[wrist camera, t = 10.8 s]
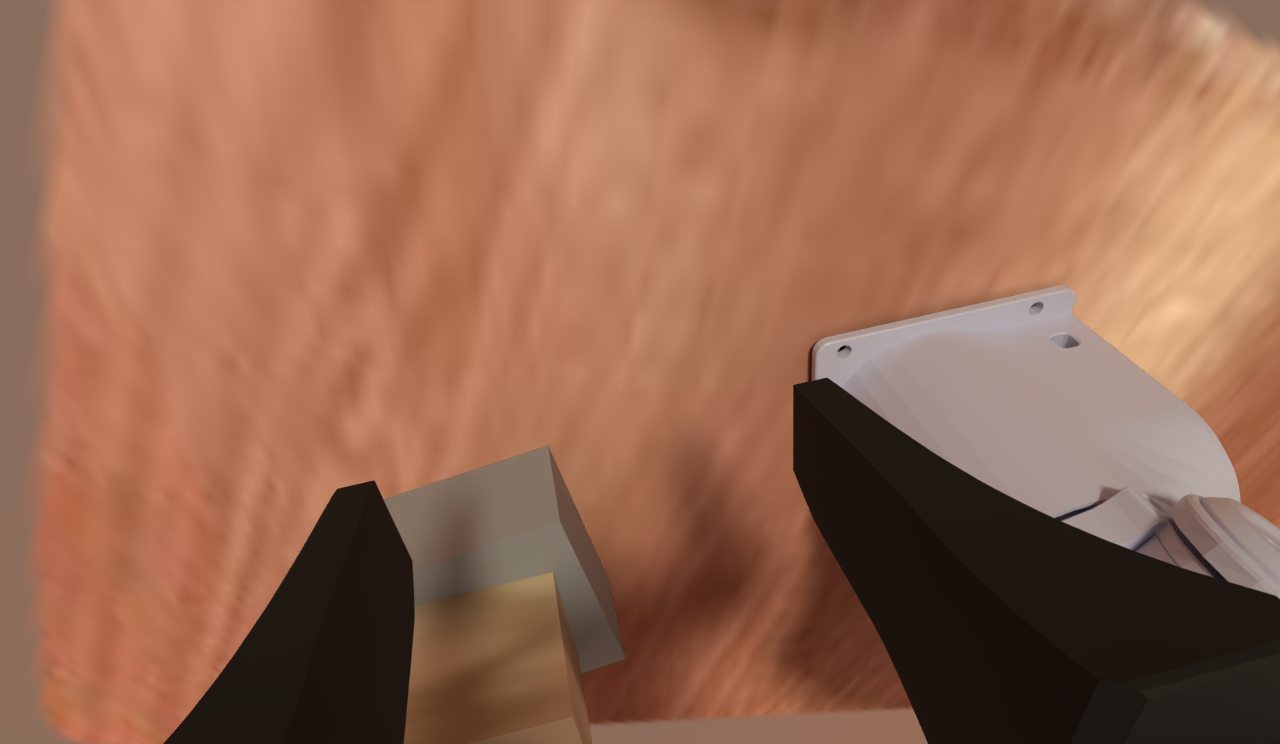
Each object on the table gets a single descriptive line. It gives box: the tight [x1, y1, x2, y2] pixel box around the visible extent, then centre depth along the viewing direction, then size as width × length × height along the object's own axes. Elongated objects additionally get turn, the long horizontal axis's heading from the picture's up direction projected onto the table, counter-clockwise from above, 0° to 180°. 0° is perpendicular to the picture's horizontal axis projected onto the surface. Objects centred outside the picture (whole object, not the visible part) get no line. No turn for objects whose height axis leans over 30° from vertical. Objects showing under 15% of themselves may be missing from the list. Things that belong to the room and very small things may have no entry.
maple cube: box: [404, 572, 592, 744], centre depth 24 cm, size 5×5×5 cm
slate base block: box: [384, 446, 626, 674], centre depth 27 cm, size 8×8×4 cm
